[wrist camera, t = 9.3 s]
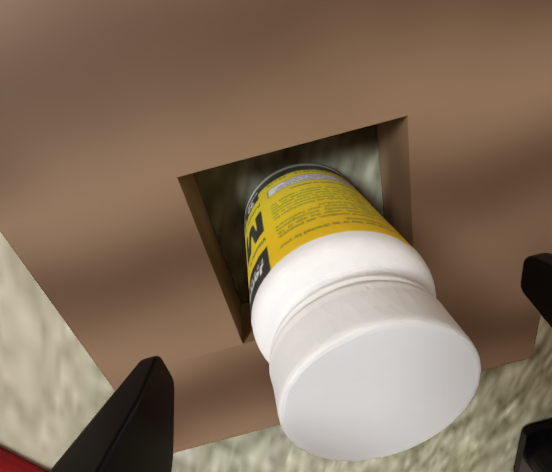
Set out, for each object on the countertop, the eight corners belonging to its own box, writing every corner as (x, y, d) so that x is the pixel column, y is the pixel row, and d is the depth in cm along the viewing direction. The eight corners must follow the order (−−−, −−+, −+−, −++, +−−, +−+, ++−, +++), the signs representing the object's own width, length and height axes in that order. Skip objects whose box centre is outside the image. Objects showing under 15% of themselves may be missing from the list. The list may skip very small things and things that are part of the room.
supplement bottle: (231, 174, 12) (229, 335, 5) (353, 149, 13) (528, 270, 5) (256, 277, 15) (281, 494, 7) (359, 255, 15) (488, 446, 7)
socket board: (494, 321, 18) (531, 357, 16) (170, 407, 18) (162, 455, 16) (546, -148, 9) (643, -213, 7) (-71, 19, 9) (-163, 4, 7)
